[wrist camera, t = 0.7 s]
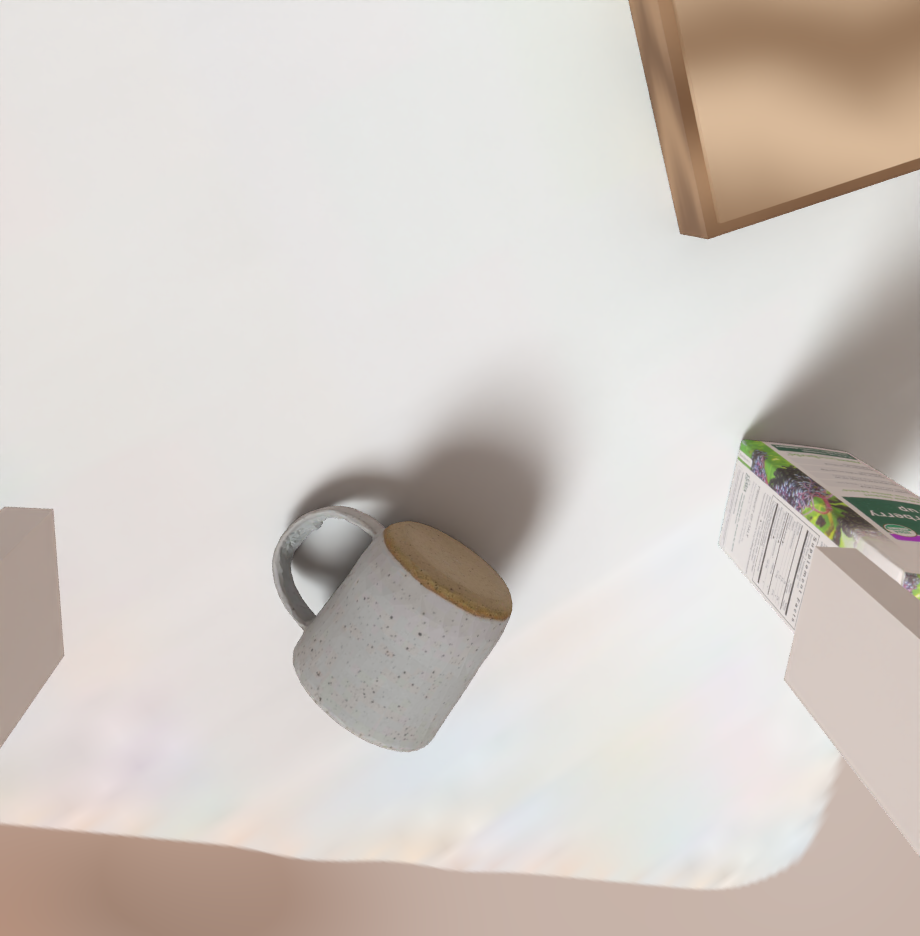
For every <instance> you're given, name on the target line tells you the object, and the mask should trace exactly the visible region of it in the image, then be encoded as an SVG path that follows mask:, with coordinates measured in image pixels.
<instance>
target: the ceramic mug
mask: <svg viewBox="0 0 920 936" xmlns="http://www.w3.org/2000/svg"><path fill="white" fill-rule="evenodd" d="M326 518H338V519H345V520H346V521H348V522H350V523H352V524H354V525H356V526H358V527H360V528H361V529H362V530H363V531H364V532H366V533H369V534H370V536H371V537H372V542H371V543H370V545H369V546H368V547H367V548H366V550H365V551H364V552H363V554H362V555H361V556H360V558H359V559H358V561H357V562H356V564H355V565H354V567H353V568H352V570H351V571H350V573H349V574H348V576H347V577H346V578H345V580H344V581H343V582H342V583H341V585H340V586H339V587H338V589H337V590H336V591H335V592H334V593H333V595H332V596H331V598H330V599H329V600H328V602H327V603H326V604H325V605H324V607H323V608H322V610H321V611H320V612H319V613H318V614H317V616H316V615H315V614H314V613H313V612H312V611H311V609H310V608H309V607H308V606H307V604H306V603H305V602H304V600H303V599H302V597H301V596H300V594H299V592H298V590H297V588H296V587H295V584H294V581H293V577H292V574H291V560H292V558H293V554H294V552H295V551H296V550H297V548H298V547H299V546H300V545H301V543H302V542H303V541H304V540H305V538H306V537H307V536H308V535H309V534H310V533H311V532H312V531H313V530H317V529H319V528H320V527H321V525H322V524H323V521H324V520H326ZM272 570H273V577H274V583H275V586H276V589H277V591H278V594H279V597H280V599H281V601H282V602H283V604H284V606H285V608H286V609H287V611H288V612H289V613H290V615H291V616H292V617H293V619H294V620H295V621H296V622H297V623H298V625H299V626H300V627H301V628H302V629H303V630H304V632H303V635H302V637H301V638H300V640H299V641H298V643H297V645H296V646H295V648H294V652H293V665H294V668H295V671H296V674H297V676H298V678H299V680H300V683H301V685H302V686H303V687H304V689H305V690H306V692H307V693H308V694H309V696H310V697H311V698H312V699H313V700H314V702H315V703H316V704H317V705H318V706H319V707H320V708H321V709H322V710H323V711H324V712H325V713H326V714H327V715H328V716H330V717H331V718H332V719H333V720H334V721H336V722H337V723H338V724H339V725H340V726H342V727H343V728H345V729H346V730H348V731H349V732H351V733H353V734H354V735H356V736H358V737H359V738H361V739H363V740H365V741H367V742H369V743H372V744H374V745H377V746H379V747H382V748H386V749H390V750H394V751H399V752H411V751H417V750H419V749H421V748H423V747H425V746H426V745H428V744H429V743H430V742H431V740H432V739H433V738H434V736H435V735H436V733H437V731H438V730H439V728H440V727H441V725H442V724H443V723H444V721H445V719H446V717H447V716H448V715H449V713H450V712H451V710H452V709H453V707H454V706H455V704H456V703H457V702H458V700H459V698H460V697H461V696H462V694H463V692H464V691H465V690H466V688H467V687H468V685H469V683H470V682H471V680H472V679H473V677H474V676H475V674H476V672H477V671H478V669H479V667H480V666H481V665H482V663H483V662H484V660H485V659H486V658H487V656H488V655H489V654H490V652H491V651H492V649H493V648H494V646H495V645H496V643H497V642H498V640H499V639H500V637H501V635H502V633H503V632H504V629H505V627H506V625H507V623H508V620H509V618H510V615H511V612H512V599H511V595H510V592H509V589H508V587H507V586H506V584H505V582H504V581H503V579H502V578H501V577H500V576H499V575H498V574H497V572H496V571H495V570H494V569H493V568H492V567H491V566H490V565H488V564H487V563H486V562H485V561H484V560H483V559H482V558H481V557H479V556H478V555H477V554H476V553H474V552H473V551H472V550H470V549H469V548H467V547H466V546H464V545H463V544H462V543H460V542H459V541H457V540H455V539H453V538H452V537H450V536H448V535H447V534H445V533H443V532H441V531H439V530H437V529H435V528H433V527H431V526H428V525H425V524H422V523H418V522H412V521H405V522H398V523H395V524H391V525H390V526H388V527H387V528H384V527H383V526H382V525H381V524H380V523H379V522H378V521H377V520H376V519H374V518H373V517H371V516H370V515H367V514H365V513H363V512H361V511H358V510H356V509H354V508H350V507H344V506H328V507H324V508H320V509H316V510H313V511H310V512H308V513H306V514H303V515H302V516H301V517H300V518H298V519H296V520H295V521H294V522H293V523H292V524H291V525H290V526H289V527H288V529H287V530H286V531H285V532H284V534H283V535H282V536H281V538H280V540H279V542H278V544H277V546H276V548H275V551H274V555H273V561H272Z"/></svg>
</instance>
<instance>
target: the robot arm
mask: <svg viewBox="0 0 920 936" xmlns="http://www.w3.org/2000/svg"><path fill="white" fill-rule="evenodd" d="M63 657H64V646H63V633H62V620H61V606H60V593H59V579H58V566H57V553H56V539H55V526H54V512H53V509H41V508H20V507H4V508H3V509H1V510H0V748H1V747H2V745H3V744H4V742H5V741H6V739H7V738H8V736H9V735H10V733H11V732H12V731H13V729H14V728H15V726H16V725H17V723H18V722H19V720H20V719H21V718H22V716H23V715H24V713H25V712H26V710H27V709H28V707H29V706H30V704H31V703H32V702H33V700H34V699H35V697H36V696H37V694H38V693H39V691H40V690H41V688H42V687H43V686H44V684H45V683H46V681H47V680H48V678H49V677H50V675H51V674H52V673H53V671H54V670H55V668H56V667H57V665H58V664H59V662H60V661H61V659H62V658H63ZM784 681H785V682H786V683H787V684H788V686H789V687H790V688H791V690H792V691H793V692H794V694H795V695H796V696H797V698H798V699H799V700H800V701H801V703H802V704H803V705H804V707H805V708H806V709H807V711H808V712H809V713H810V714H811V716H812V717H813V718H814V720H815V721H816V722H817V724H818V725H819V726H820V728H821V729H822V730H823V731H824V733H825V734H826V735H827V737H828V738H829V739H830V741H831V742H832V743H833V745H834V746H835V747H836V748H837V750H838V751H839V752H840V754H841V755H842V756H843V758H844V759H845V760H846V761H847V763H848V764H849V765H850V767H851V768H852V769H853V771H854V772H855V773H856V775H857V776H858V777H859V778H860V780H861V781H862V782H863V784H864V785H865V786H866V787H867V789H868V790H869V791H870V793H871V794H872V795H873V797H874V798H875V799H876V801H877V802H878V803H879V804H880V806H881V807H882V808H883V810H884V811H885V812H886V814H887V815H888V816H889V818H890V819H891V820H892V822H893V823H894V824H895V825H896V827H897V828H898V829H899V831H900V832H901V833H902V835H903V836H904V837H905V838H906V840H907V841H908V842H909V844H910V845H911V846H912V848H913V849H914V850H915V852H916V853H917V854H918V855H919V857H920V600H919V599H917V598H916V597H915V596H914V595H913V594H911V593H910V592H909V591H908V590H906V589H905V588H904V587H903V586H901V585H900V584H899V583H898V582H897V581H895V580H894V579H893V578H892V577H890V576H889V575H888V574H887V573H886V572H884V571H883V570H882V569H881V568H879V567H878V566H877V565H876V564H874V563H873V562H872V561H871V560H870V559H868V558H867V557H866V556H865V555H863V554H862V553H861V552H860V551H859V550H857V549H856V548H840V547H819V546H815V549H814V553H813V557H812V562H811V566H810V570H809V574H808V579H807V583H806V587H805V591H804V596H803V600H802V604H801V608H800V613H799V617H798V621H797V625H796V630H795V634H794V638H793V643H792V647H791V651H790V655H789V660H788V664H787V668H786V672H785V677H784Z"/></svg>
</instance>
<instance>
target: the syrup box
mask: <svg viewBox="0 0 920 936" xmlns="http://www.w3.org/2000/svg"><path fill="white" fill-rule="evenodd" d="M718 545H719V546H720V548H721V549H722V550H723V551H724V553H725V554H726V555H727V556H728V557H729V558H730V559H731V560H732V561H733V563H734V564H735V565H736V567H737V568H738V569H739V570H740V571H741V573H742V574H743V575H744V576H745V577H746V578H747V579H748V581H749V582H750V583H751V584H752V585H753V586H754V588H755V589H756V590H757V591H758V592H759V593H760V595H761V596H762V597H763V598H764V600H765V601H766V602H767V603H768V604H769V606H770V607H771V608H772V609H773V610H774V611H775V612H776V614H777V615H778V616H779V617H780V618H781V619H782V620H783V622H784V623H785V624H786V625H787V626H788V628H789V629H790V630H791V631H792V632H793V634H795V630H796V625H797V621H798V617H799V613H800V608H801V604H802V600H803V596H804V591H805V587H806V583H807V579H808V574H809V570H810V566H811V562H812V557H813V553H814V549H815V546H819V547H840V548H856V549H857V550H859V551H860V552H861V553H862V554H863V555H865V556H866V557H867V558H868V559H870V560H871V561H872V562H873V563H874V564H876V565H877V566H878V567H879V568H881V569H882V570H883V571H884V572H886V573H887V574H888V575H889V576H890V577H892V578H893V579H894V580H895V581H897V582H898V583H899V584H900V585H901V586H903V587H904V588H905V589H906V590H908V591H909V592H910V593H911V594H913V595H914V596H915V597H916V598H917V599H919V600H920V497H918V496H917V495H915V494H914V493H912V492H911V491H909V490H908V489H906V488H904V487H903V486H901V485H899V484H898V483H896V482H895V481H893V480H892V479H890V478H889V477H887V476H885V475H884V474H882V473H880V472H879V471H878V470H876V469H874V468H873V467H871V466H869V465H867V464H866V463H864V462H863V461H861V460H859V459H858V458H856V457H855V456H853V455H852V454H850V453H848V452H846V451H838V450H831V449H824V448H817V447H811V446H801V445H793V444H784V443H774V442H764V441H753V440H742V441H741V444H740V449H739V453H738V457H737V462H736V466H735V470H734V475H733V479H732V483H731V487H730V492H729V497H728V501H727V505H726V510H725V515H724V519H723V524H722V528H721V533H720V537H719V542H718Z"/></svg>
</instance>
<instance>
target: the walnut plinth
mask: <svg viewBox="0 0 920 936" xmlns="http://www.w3.org/2000/svg"><path fill="white" fill-rule="evenodd" d="M628 1H629V5H630V10H631V14H632V19H633V23H634V28H635V32H636V37H637V41H638V46H639V50H640V55H641V59H642V64H643V68H644V73H645V77H646V82H647V86H648V91H649V95H650V100H651V104H652V109H653V113H654V118H655V122H656V127H657V131H658V136H659V140H660V145H661V149H662V154H663V158H664V163H665V167H666V172H667V176H668V181H669V185H670V190H671V194H672V199H673V203H674V208H675V212H676V217H677V221H678V226H679V230H680V234H683V235H689V236H694V237H699V238H705V239H710V238H713V237H716V236H719V235H722V234H725V233H728V232H731V231H734V230H737V229H740V228H743V227H746V226H750V225H753V224H756V223H759V222H762V221H765V220H768V219H771V218H774V217H777V216H780V215H783V214H786V213H789V212H792V211H795V210H798V209H801V208H804V207H807V206H810V205H813V204H816V203H819V202H822V201H825V200H828V199H831V198H834V197H838V196H841V195H844V194H847V193H850V192H853V191H856V190H859V189H862V188H865V187H868V186H871V185H874V184H877V183H880V182H883V181H886V180H889V179H892V178H895V177H898V176H901V175H904V174H907V173H910V172H913V171H916V170H919V169H920V0H628Z"/></svg>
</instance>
